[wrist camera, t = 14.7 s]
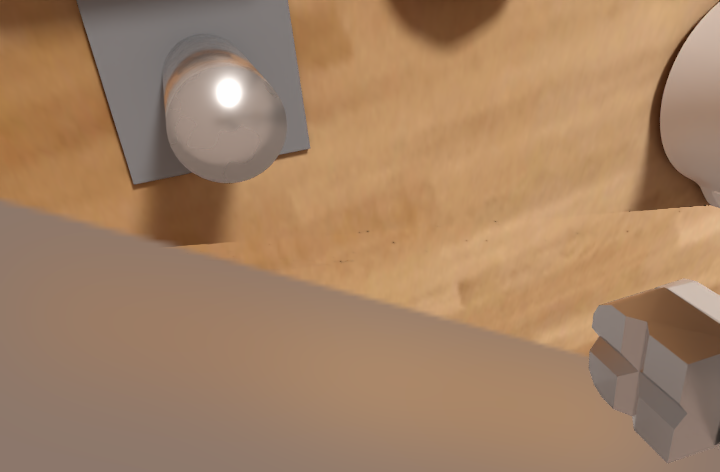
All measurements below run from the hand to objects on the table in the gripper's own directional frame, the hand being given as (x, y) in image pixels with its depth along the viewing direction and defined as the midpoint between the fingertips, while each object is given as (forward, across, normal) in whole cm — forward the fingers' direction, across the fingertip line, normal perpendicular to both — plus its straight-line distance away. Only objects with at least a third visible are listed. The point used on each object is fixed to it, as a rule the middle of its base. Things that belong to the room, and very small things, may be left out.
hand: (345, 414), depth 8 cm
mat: (+26, 0, 0) cm, 27 cm away
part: (+26, 0, 0) cm, 26 cm away
